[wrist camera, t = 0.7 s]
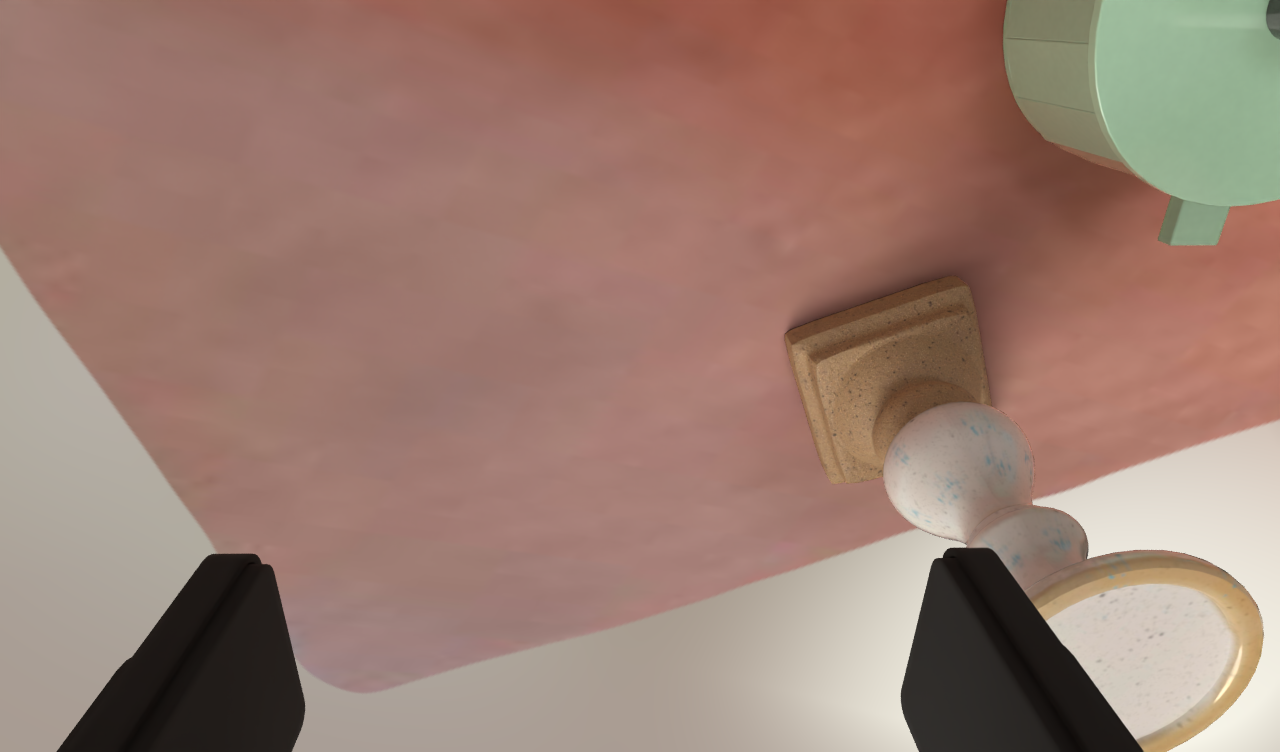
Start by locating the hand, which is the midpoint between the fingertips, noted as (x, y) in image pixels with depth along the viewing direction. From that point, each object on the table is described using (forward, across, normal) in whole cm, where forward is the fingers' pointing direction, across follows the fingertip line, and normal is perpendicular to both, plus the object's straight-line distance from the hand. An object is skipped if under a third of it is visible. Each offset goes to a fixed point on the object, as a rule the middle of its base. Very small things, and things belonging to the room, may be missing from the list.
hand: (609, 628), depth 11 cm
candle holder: (+34, -18, +12) cm, 40 cm away
